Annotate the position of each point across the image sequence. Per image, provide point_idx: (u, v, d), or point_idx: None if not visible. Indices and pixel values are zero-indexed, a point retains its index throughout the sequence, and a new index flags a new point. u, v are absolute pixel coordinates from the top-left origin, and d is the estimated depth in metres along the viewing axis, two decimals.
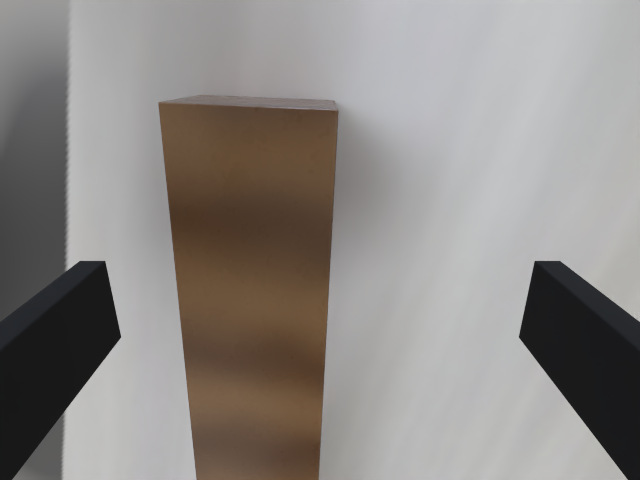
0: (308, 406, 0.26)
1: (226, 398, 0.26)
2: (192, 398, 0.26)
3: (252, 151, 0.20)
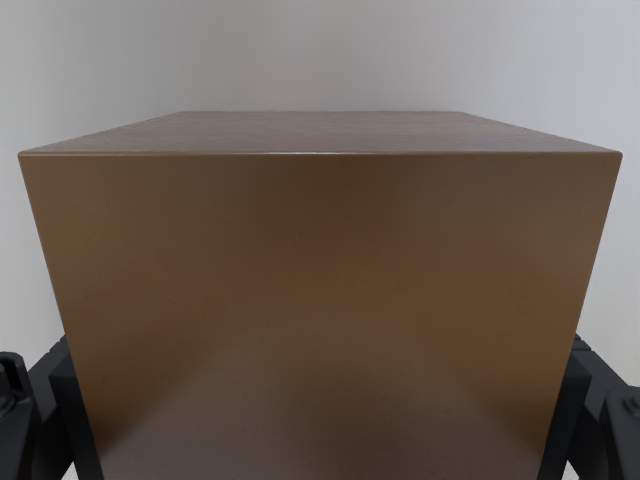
0: None
1: None
2: None
3: (330, 286, 0.07)
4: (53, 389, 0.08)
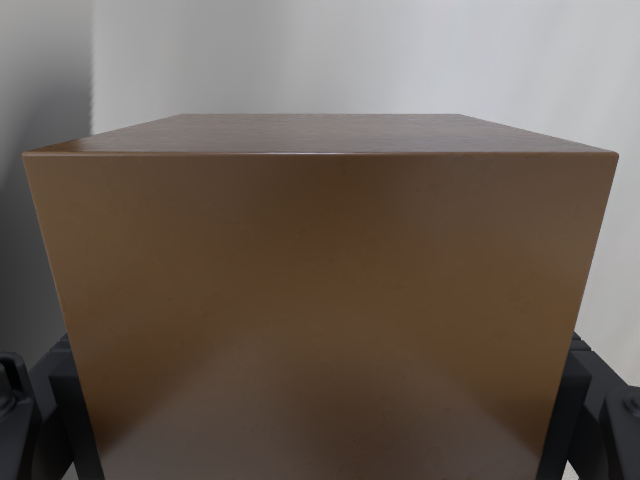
0: None
1: None
2: None
3: (330, 285, 0.07)
4: (53, 389, 0.08)
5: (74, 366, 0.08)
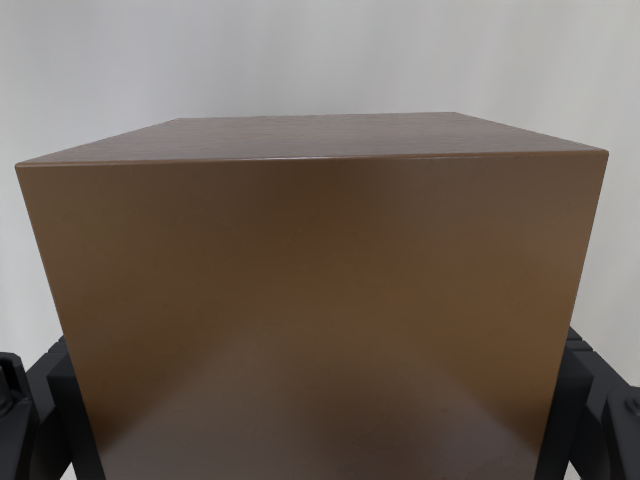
0: None
1: None
2: None
3: (323, 289, 0.07)
4: (51, 389, 0.08)
5: (72, 366, 0.08)
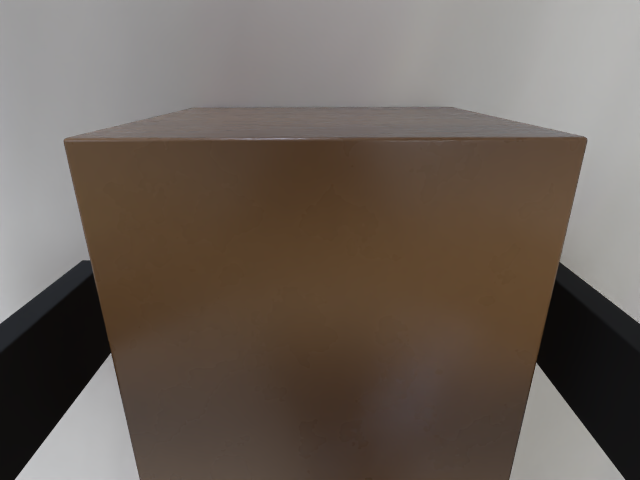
0: None
1: None
2: None
3: (334, 257, 0.07)
4: None
5: None
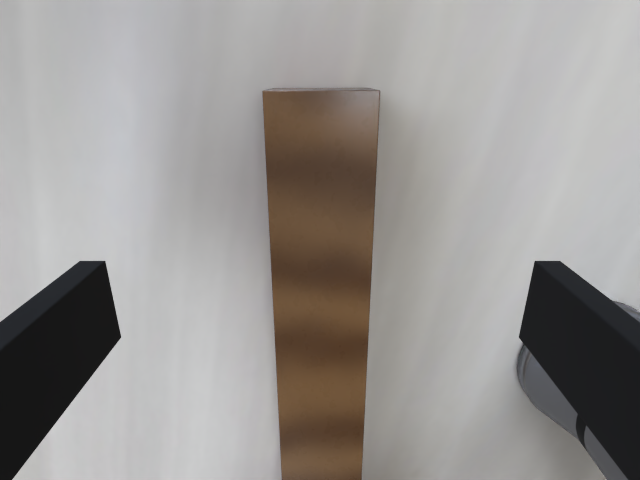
0: (359, 308, 0.37)
1: (300, 304, 0.36)
2: (276, 305, 0.36)
3: (323, 120, 0.31)
4: None
5: None
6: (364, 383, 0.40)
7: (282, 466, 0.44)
